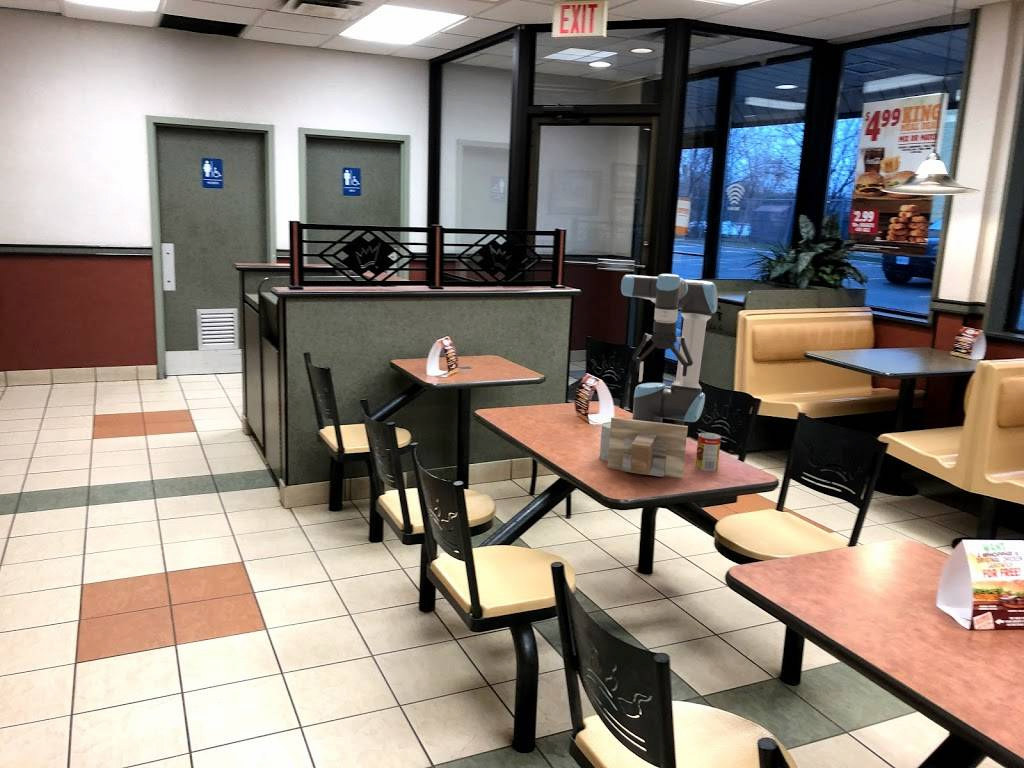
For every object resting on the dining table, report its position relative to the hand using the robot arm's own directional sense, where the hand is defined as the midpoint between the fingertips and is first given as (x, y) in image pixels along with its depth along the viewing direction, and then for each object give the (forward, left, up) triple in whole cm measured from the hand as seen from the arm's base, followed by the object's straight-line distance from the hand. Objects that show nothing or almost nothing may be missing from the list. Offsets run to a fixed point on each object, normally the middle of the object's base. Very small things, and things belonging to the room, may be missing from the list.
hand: (660, 383), depth 281 cm
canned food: (-20, +11, -32) cm, 39 cm away
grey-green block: (-5, -19, -32) cm, 38 cm away
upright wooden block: (+8, 0, -28) cm, 29 cm away
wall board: (+3, -2, -32) cm, 32 cm away
